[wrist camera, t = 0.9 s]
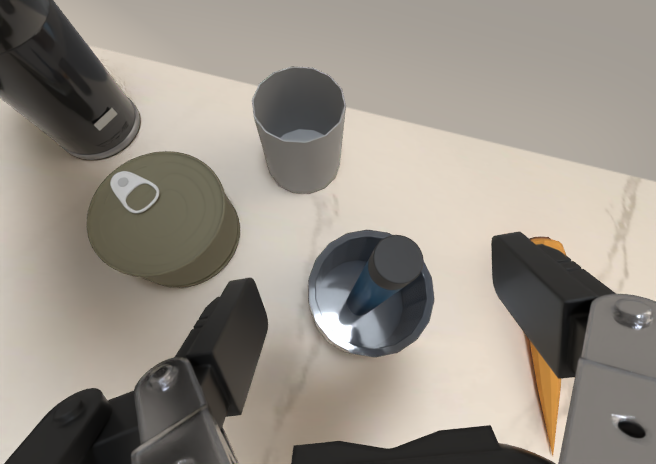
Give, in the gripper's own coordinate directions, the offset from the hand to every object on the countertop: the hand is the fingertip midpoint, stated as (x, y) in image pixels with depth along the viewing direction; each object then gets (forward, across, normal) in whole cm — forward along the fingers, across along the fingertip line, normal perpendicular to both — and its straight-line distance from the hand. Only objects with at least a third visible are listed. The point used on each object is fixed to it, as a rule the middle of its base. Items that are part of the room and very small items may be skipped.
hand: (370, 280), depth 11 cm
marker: (+18, +2, +14) cm, 23 cm away
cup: (+30, +6, +1) cm, 30 cm away
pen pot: (+19, +2, +14) cm, 23 cm away
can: (+22, +19, +5) cm, 30 cm away
